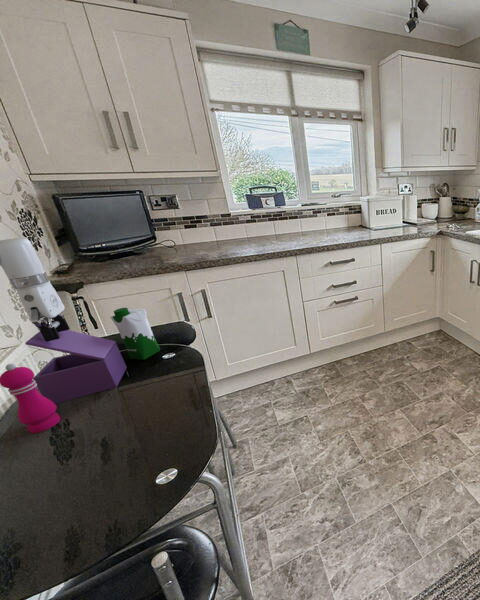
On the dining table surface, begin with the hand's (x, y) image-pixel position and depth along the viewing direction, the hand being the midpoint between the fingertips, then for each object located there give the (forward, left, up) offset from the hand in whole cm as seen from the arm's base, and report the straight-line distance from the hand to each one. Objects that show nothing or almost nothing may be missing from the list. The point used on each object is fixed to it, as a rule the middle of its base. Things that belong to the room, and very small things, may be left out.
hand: (58, 334), depth 102 cm
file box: (+2, 0, -19) cm, 20 cm away
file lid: (+3, 0, -4) cm, 5 cm away
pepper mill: (-4, -19, -20) cm, 28 cm away
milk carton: (+15, +15, -20) cm, 29 cm away
